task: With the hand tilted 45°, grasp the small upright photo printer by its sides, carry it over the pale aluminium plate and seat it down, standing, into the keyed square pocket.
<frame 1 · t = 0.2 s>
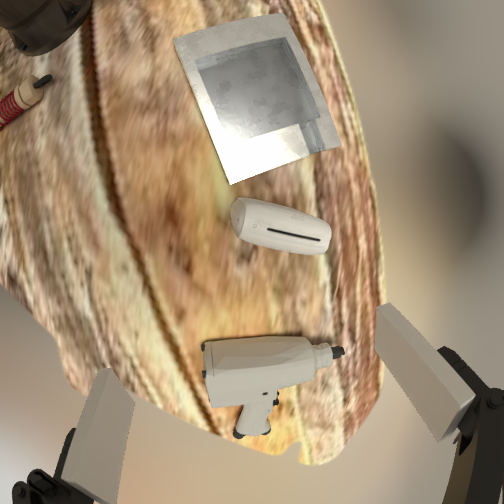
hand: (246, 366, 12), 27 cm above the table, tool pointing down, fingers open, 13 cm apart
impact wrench: (271, 384, 47), on the table
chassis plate: (255, 90, 33), on the table
photo printer: (265, 216, 38), on the table
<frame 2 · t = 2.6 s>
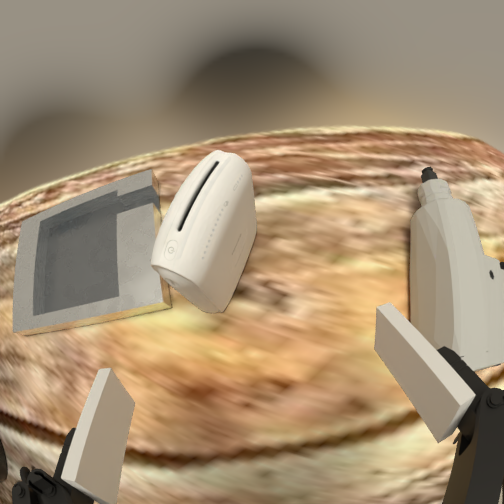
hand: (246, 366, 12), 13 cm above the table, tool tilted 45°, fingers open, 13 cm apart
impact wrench: (479, 275, 26), on the table
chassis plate: (82, 260, 29), on the table
photo printer: (225, 266, 28), on the table
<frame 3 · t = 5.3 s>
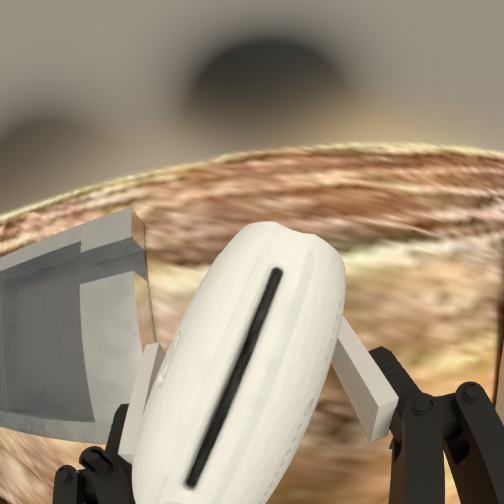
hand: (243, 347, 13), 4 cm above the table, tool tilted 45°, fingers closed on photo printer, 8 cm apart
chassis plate: (44, 340, 17), on the table
photo printer: (256, 379, 16), on the table, touching gripper
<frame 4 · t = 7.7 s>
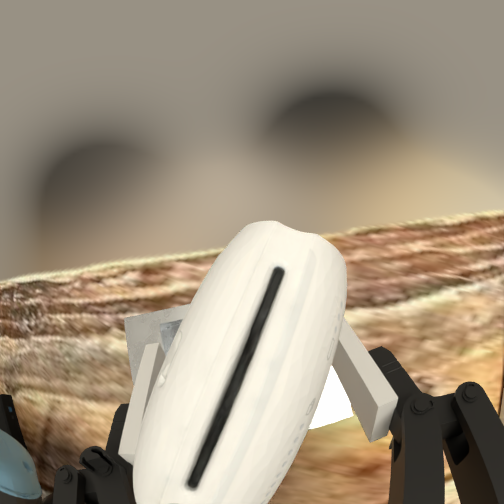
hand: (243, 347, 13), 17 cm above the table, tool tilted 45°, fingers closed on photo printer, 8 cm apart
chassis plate: (232, 371, 28), on the table
photo printer: (256, 379, 16), point 13 cm above the table, touching gripper
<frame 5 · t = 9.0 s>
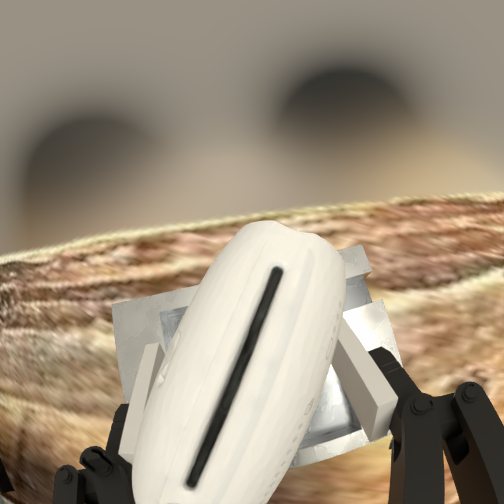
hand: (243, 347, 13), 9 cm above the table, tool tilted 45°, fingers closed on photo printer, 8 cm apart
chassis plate: (259, 375, 21), on the table
photo printer: (256, 379, 16), point 5 cm above the table, touching gripper
when the fingers open (6 cm above the table, at t = 10.1 s): photo printer drops 2 cm, resting on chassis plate.
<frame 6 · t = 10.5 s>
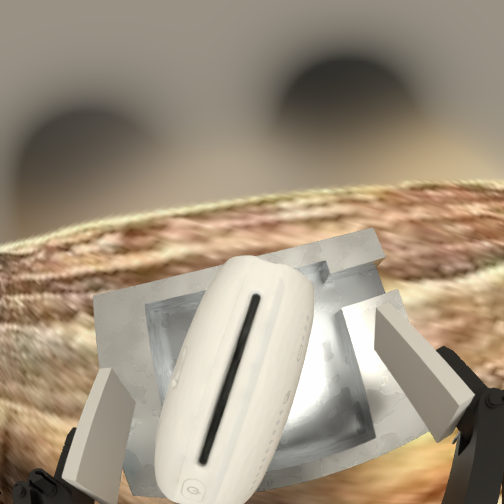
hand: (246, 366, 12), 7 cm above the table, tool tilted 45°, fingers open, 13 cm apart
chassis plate: (257, 377, 18), on the table
photo printer: (251, 378, 18), resting on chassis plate
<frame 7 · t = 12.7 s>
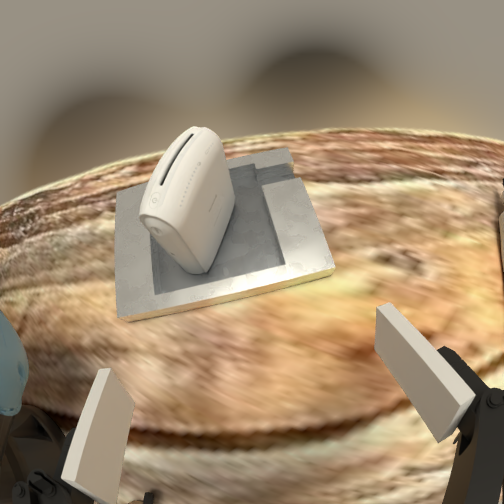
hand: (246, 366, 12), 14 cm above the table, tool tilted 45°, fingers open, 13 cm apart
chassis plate: (212, 233, 31), on the table
photo printer: (208, 233, 31), resting on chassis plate
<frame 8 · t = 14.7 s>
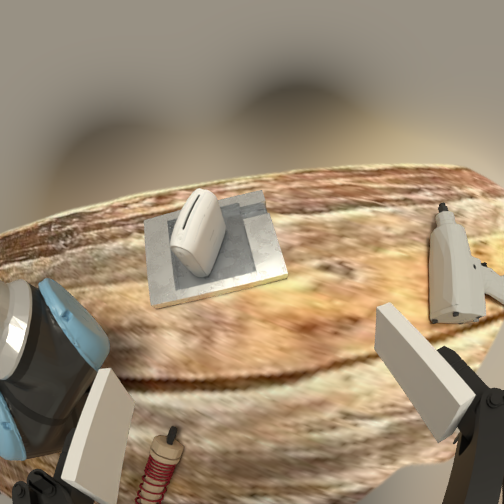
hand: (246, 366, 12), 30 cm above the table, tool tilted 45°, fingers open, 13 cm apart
shock absorber: (156, 490, 31), on the table
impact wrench: (470, 270, 43), on the table
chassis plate: (211, 250, 47), on the table
photo printer: (208, 250, 47), resting on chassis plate
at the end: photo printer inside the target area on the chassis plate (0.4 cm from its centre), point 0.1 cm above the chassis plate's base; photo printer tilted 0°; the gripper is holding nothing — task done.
